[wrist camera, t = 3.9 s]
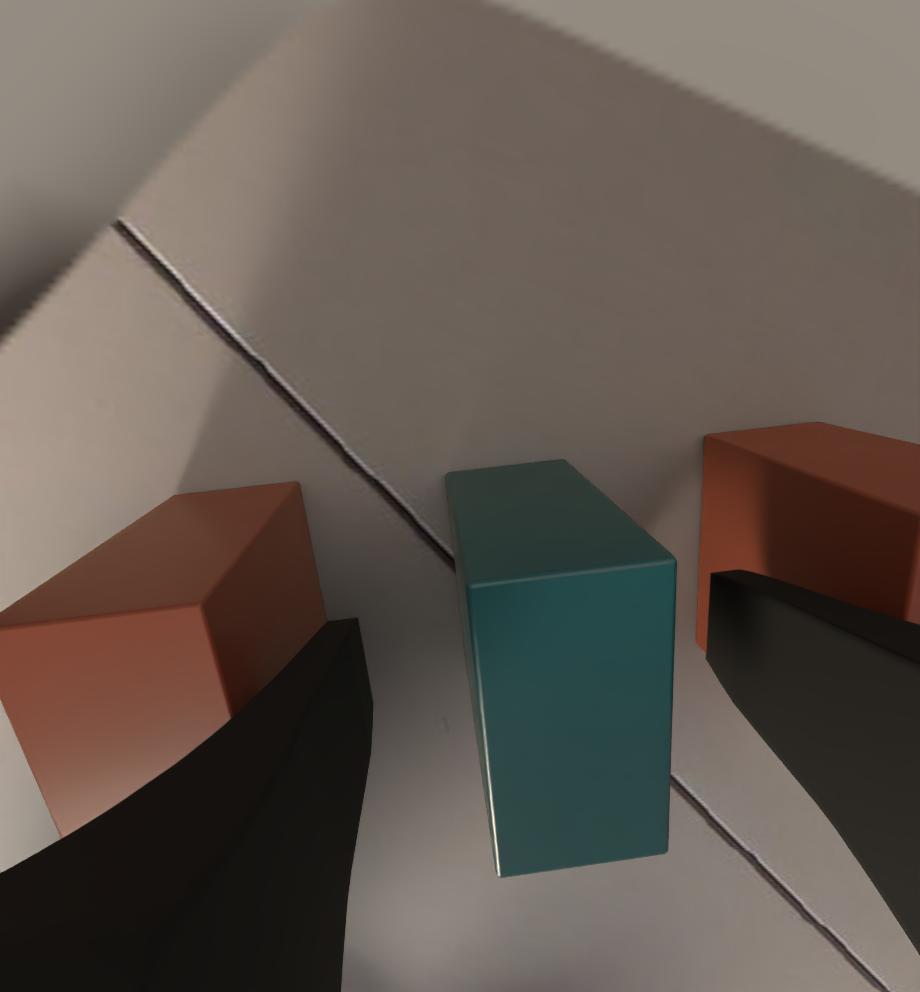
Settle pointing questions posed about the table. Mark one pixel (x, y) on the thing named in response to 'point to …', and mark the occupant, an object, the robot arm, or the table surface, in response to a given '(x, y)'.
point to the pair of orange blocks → (300, 611)
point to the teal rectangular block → (565, 666)
